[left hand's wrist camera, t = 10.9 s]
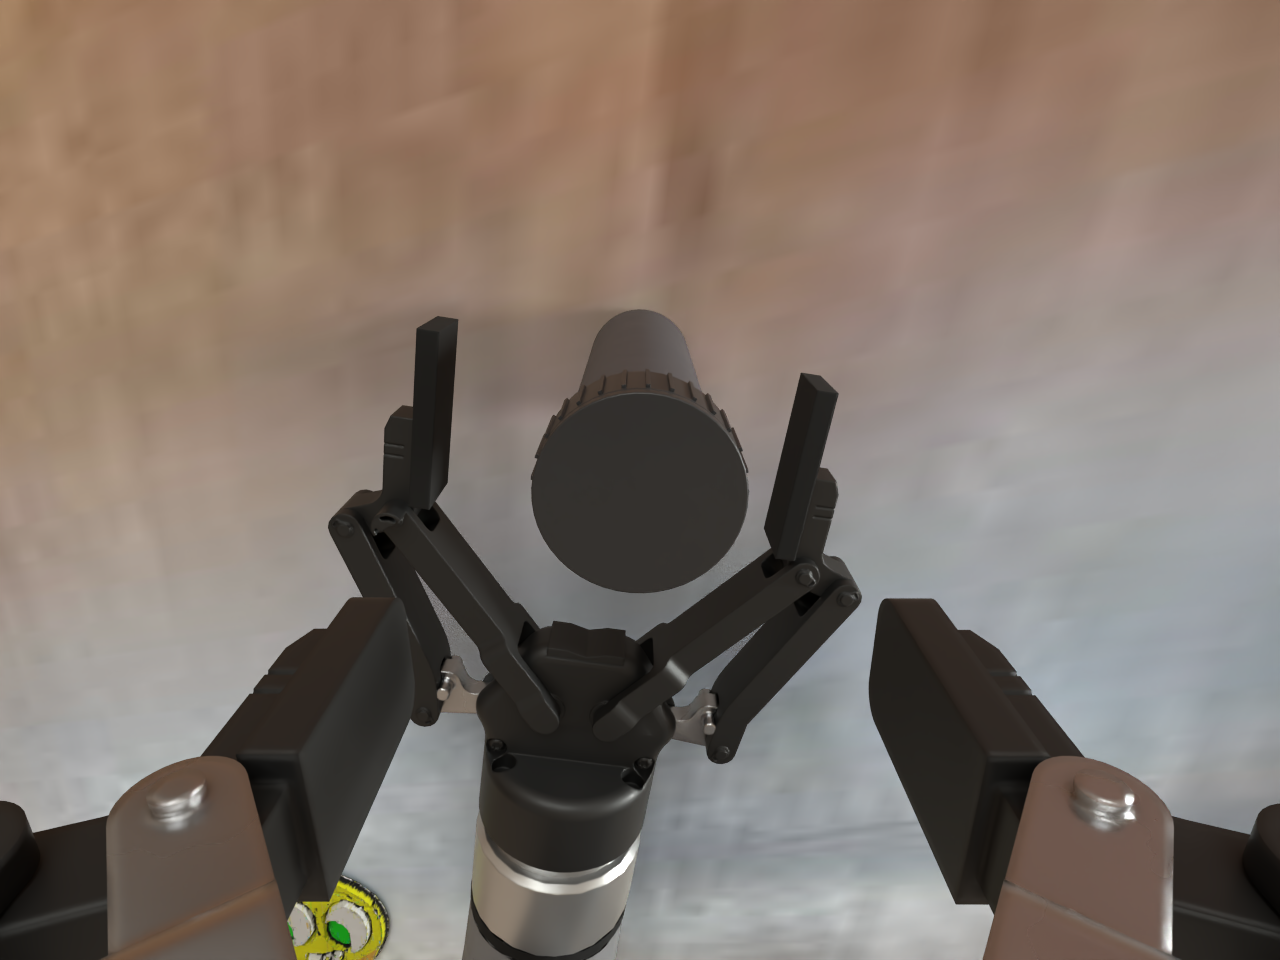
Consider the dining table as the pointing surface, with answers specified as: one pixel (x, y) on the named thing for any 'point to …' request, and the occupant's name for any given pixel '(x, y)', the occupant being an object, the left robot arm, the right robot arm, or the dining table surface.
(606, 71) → the dining table surface
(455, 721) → the dining table surface
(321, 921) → the toy
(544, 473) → the lid
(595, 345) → the jar
